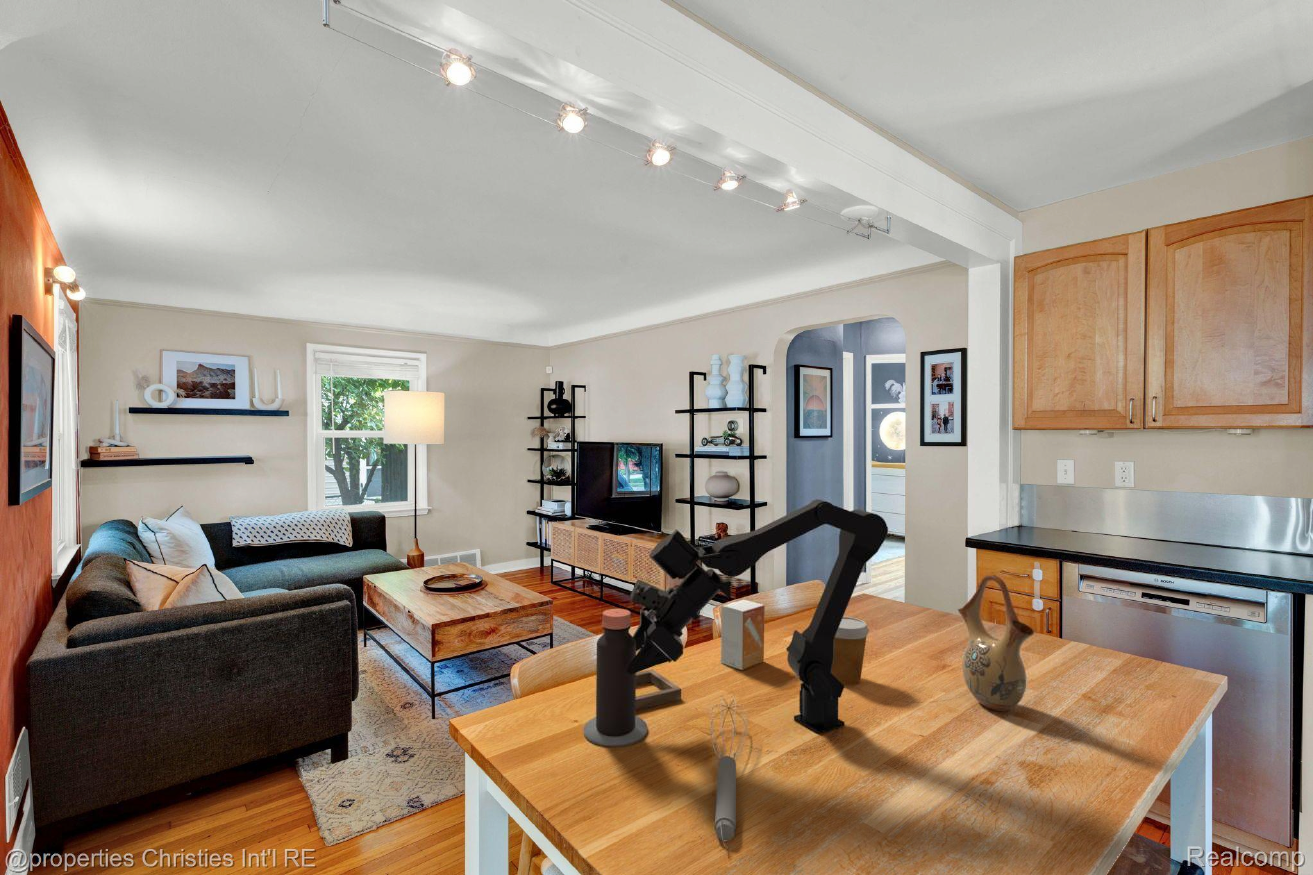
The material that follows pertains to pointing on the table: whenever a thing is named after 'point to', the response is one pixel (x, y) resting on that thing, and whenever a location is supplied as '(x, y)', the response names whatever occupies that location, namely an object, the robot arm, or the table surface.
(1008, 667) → the ceramic vessel
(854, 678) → the disposable coffee cup
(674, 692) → the bottle caddy
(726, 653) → the small box
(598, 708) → the vinegar
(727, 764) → the kitchen whisk
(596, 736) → the slate coaster
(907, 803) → the table surface
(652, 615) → the robot arm
